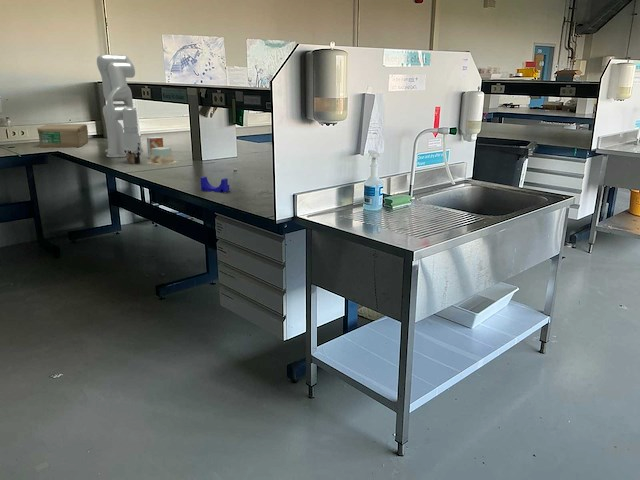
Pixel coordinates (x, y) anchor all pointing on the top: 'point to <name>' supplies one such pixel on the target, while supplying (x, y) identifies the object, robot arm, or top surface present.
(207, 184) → the blue cradle block
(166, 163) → the cork mat
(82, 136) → the paper package
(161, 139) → the small box
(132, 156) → the walnut block
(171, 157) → the tower base
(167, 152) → the tower top
